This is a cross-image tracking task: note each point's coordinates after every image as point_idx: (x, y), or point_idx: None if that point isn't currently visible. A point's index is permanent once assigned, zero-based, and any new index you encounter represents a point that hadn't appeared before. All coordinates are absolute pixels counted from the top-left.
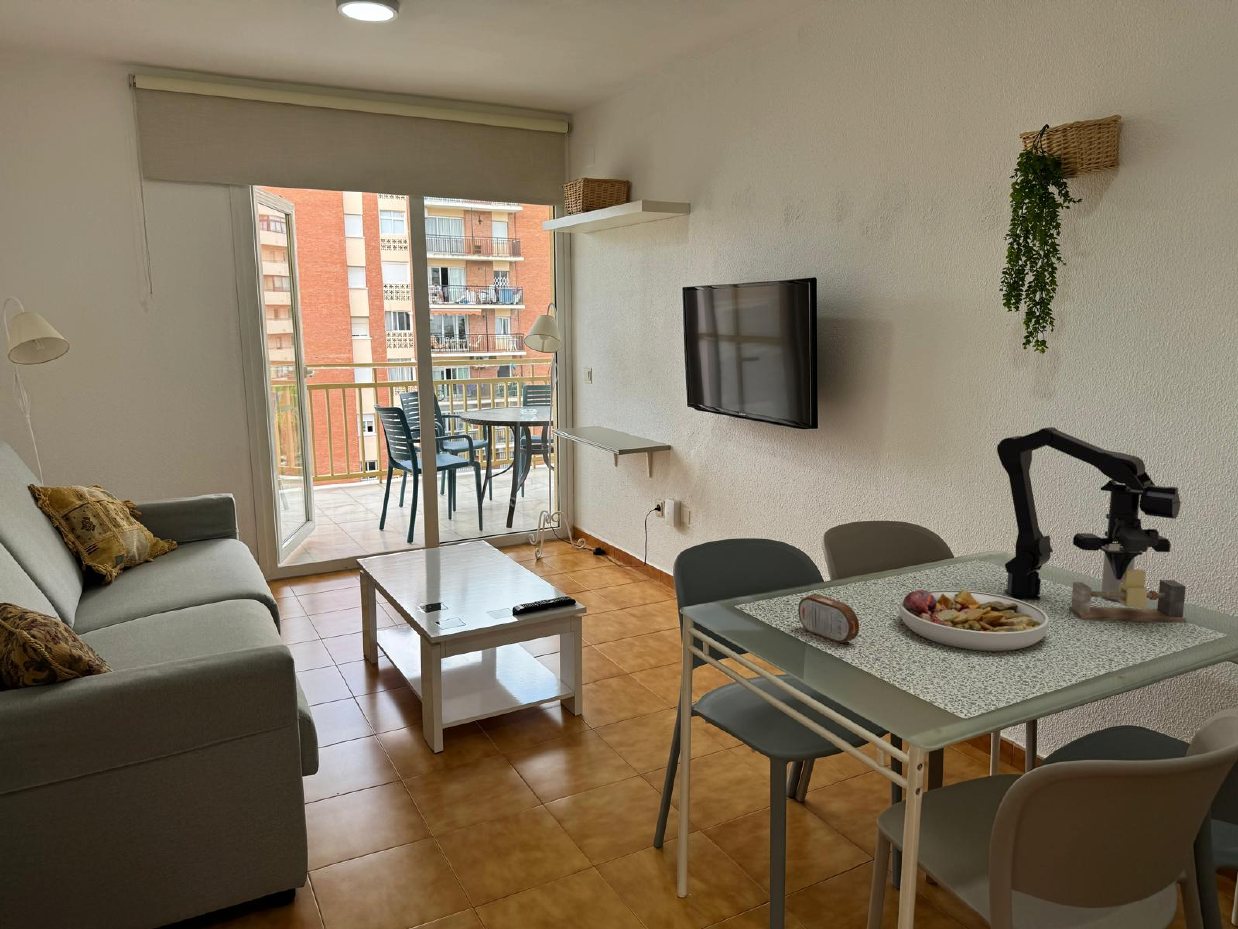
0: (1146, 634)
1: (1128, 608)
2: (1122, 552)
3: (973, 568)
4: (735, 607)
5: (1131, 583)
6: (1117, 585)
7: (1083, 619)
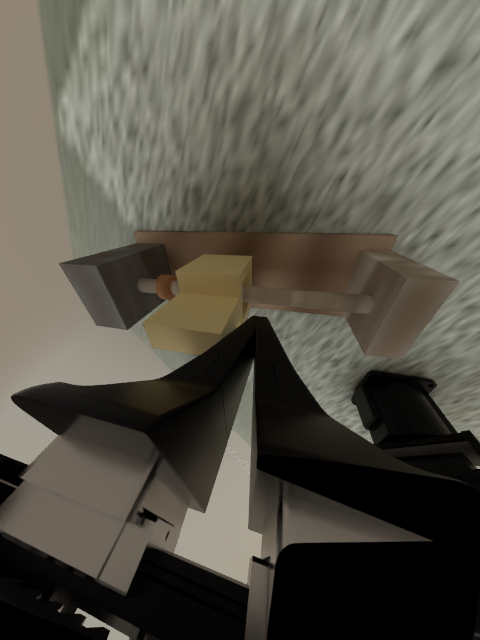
0: (273, 55)
1: None
2: (261, 474)
3: None
4: None
5: (217, 300)
6: None
7: (387, 234)
